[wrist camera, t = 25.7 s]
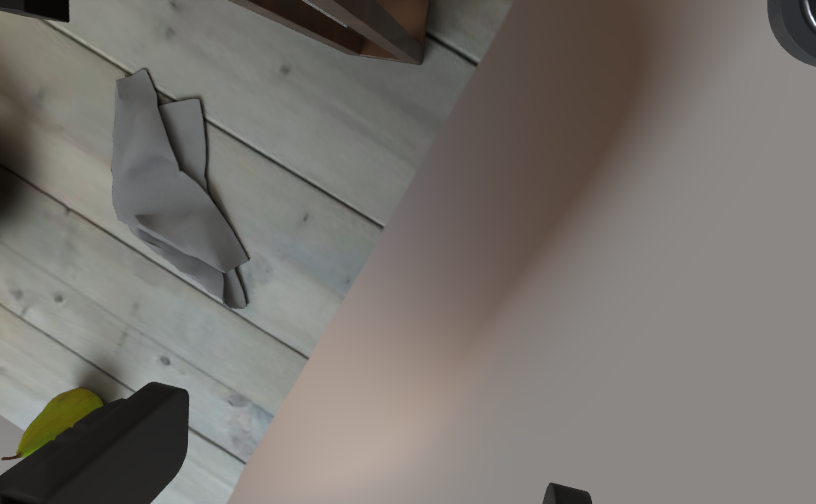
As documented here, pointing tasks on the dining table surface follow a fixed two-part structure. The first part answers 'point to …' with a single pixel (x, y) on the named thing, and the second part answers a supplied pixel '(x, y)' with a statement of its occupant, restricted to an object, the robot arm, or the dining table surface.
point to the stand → (355, 25)
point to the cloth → (171, 187)
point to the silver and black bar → (38, 9)
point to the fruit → (57, 419)
